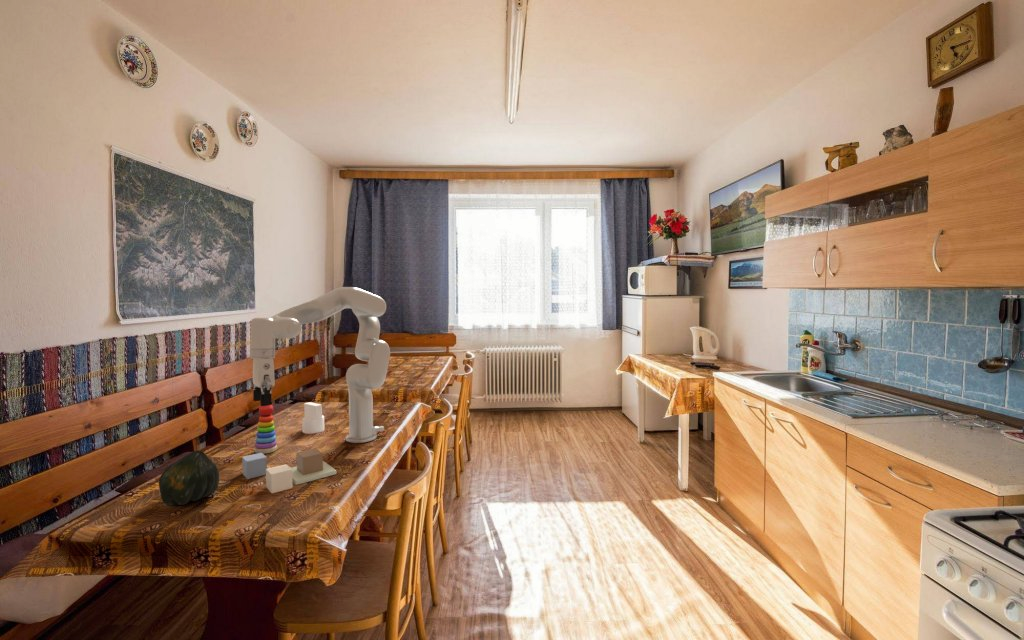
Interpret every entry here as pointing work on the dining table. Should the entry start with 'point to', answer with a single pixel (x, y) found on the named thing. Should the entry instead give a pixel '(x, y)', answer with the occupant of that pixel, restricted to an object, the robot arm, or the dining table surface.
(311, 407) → the cylinder with rectangular tab
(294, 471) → the baseplate
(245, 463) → the slate brick
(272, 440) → the stacking toy
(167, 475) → the squash
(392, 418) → the dining table surface
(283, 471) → the cream brick
